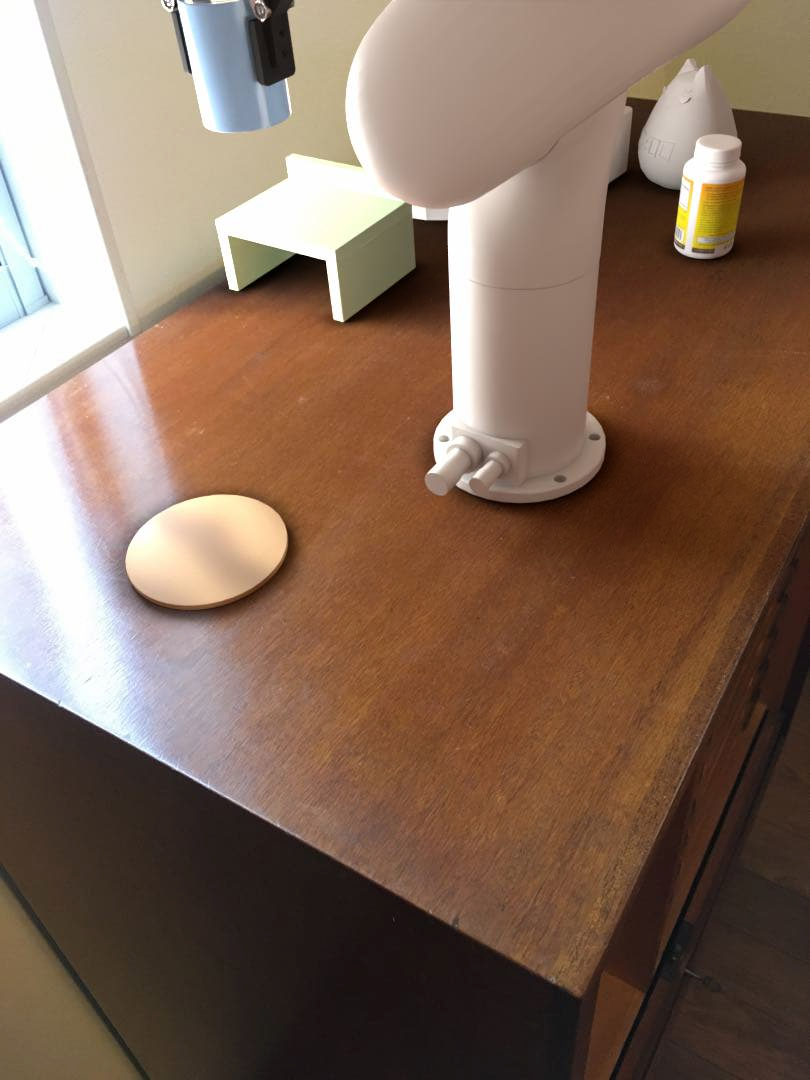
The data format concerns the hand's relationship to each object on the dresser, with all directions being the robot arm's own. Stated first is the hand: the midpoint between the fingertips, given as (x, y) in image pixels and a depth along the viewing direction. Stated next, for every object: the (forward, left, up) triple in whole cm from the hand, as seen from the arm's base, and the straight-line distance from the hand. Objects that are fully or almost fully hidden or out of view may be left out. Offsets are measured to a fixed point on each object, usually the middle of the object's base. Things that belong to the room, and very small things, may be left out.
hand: (239, 71), depth 65 cm
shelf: (+13, +6, -23) cm, 28 cm away
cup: (0, 0, -3) cm, 3 cm away
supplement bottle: (+35, -24, -24) cm, 49 cm away
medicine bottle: (+46, -6, -23) cm, 52 cm away
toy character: (+50, -16, -23) cm, 58 cm away
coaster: (-22, -11, -23) cm, 34 cm away
